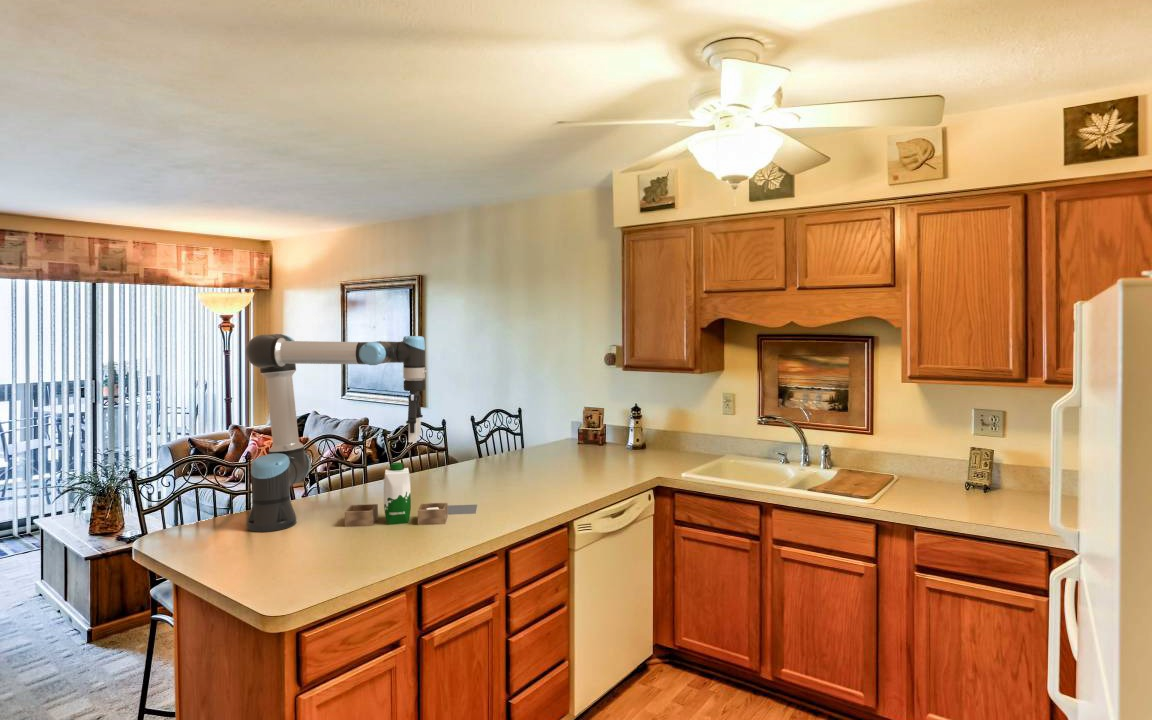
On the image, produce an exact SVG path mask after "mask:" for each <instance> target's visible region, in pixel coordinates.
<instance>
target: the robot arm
mask: <svg viewBox="0 0 1152 720" xmlns="http://www.w3.org/2000/svg"><path fill="white" fill-rule="evenodd" d="M425 344H426V343H425V338H424V336H422V335H421V336H420V335H414V336H413V335H404V336H403V338H402V341H381V340H378V341H310V340H309V341H308V340H306V341H302V340H301V341H300V340H299V341H298V340H295V339H293V338H292V337H291V336H288V335H285V334H282V333H274V334H273V333H272V334H259V335H256V336H254V337H252V338H251V339H250V340H249V341H248V343H247V345H246V347H245V355H246V359H247V360H248V362H249V363H250V364H251V365H252V366H254V367H256V368H259V370H260V376H262V377H264V378H265V382H266V393H267V401H268V410H269V411H268V412H269V419H270V420H269V421H270V428H271V429H270V431H271V437H272V438H271V439H272V446H271V447H270V448H269V449H268V454H265V455H260V456H258V457H256V458H255V459H253V460H252V462H251V465H250V466H251V467H250V475H251V476H250V477H251V503H252V505H251V508H250V512H249V515H248V518H247V522H246V528H247V530H248V531H251V532H254V533H255V532H256V533H265V532H275V531H281V530H287V529H289V528H291V527H294V526H295V525H296V524H297V515H296V512H295V509H294V507H293V504H292V502H291V487H292V486H294V485H296V484H299V483H301V482H302V481H303V480H304V479H305V478H306V477H307V476H308V475H309V473H310V470H311V466H312V461H311V458H310V456H309V454H307V453H306V452H305V445H304V444H303V443H302V442H300V439H299V438H300V437H299V429H298V420H297V409H296V400H295V392H294V390H295V389H294V382H293V375H294V374H295V373H296V372H297V367H296V364H297V365H298V364H300V365H302V364H303V365H304V364H305V365H309V364H310V365H312V364H314V365H315V364H316V365H319V364H320V365H367V366H378V365H381V364H391V363H396V364H397V363H400V364H401V363H403V367H402V372H403V373H402V374H403V375H402V376H403V379H404V380H403V391H405V392H410V393H409V394H408V396H407V399H408V406H407V407H408V410H407V411H408V412H407V420H405V423H406V424H408V435H407V436H408V437H407V438H408V443H417V441H418V439H417V438H418V437H421V436H422V433H421V432H422V428H421V425H422V420H421V419H422V418H423V417H424V416H423V414H422V408H421V406H422V405H421V404H422V403H421V400H422V397H421V392H422V391H423V392H424V391H425V390H426V380H425V379H426V373H428V371H427V369H426V345H425Z"/></svg>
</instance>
